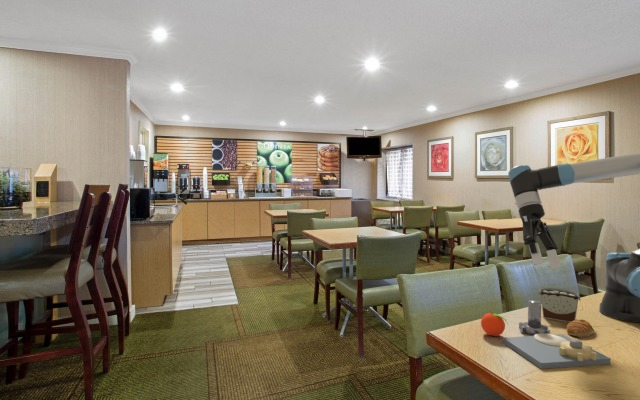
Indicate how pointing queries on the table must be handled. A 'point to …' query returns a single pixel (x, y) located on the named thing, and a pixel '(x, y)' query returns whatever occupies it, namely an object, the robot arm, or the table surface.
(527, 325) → the gear
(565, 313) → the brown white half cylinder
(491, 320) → the clementine
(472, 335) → the table surface
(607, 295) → the robot arm
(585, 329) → the pastry
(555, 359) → the gear board
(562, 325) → the table surface
